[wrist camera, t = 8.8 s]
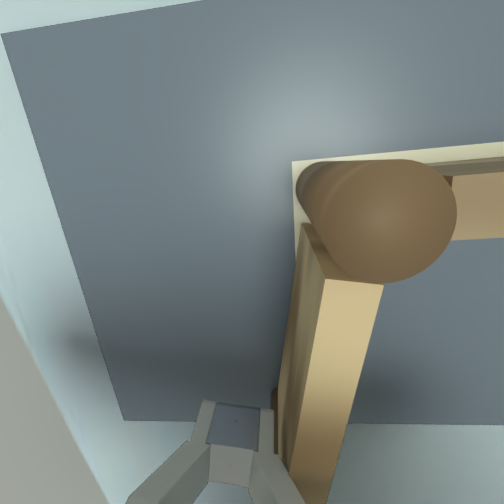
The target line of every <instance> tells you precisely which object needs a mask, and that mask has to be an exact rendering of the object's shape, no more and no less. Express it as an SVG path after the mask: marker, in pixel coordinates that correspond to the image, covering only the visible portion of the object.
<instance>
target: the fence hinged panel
mask: <svg viewBox="0 0 504 504" xmlns="http://www.w3.org/2000/svg"><path fill="white" fill-rule="evenodd" d="M383 287H384V284H383V283H371V282H366V281H362V280H359V279H357V278H354V277H352V276H350V275H349V274H347V273H346V272H344V271H343V270H342V269H341V268H340V267H339V266H338V265H337V264H336V263H335V262H334V260H333V259H332V257H331V256H330V254H329V252H328V250H327V249H326V247H325V245H324V244H323V242H322V240H321V239H320V237H319V235H318V233H317V232H316V230H315V228H314V227H313V225H312V224H310V223H301V229H300V236H299V243H298V251H297V258H296V265H295V272H294V279H293V286H292V293H291V300H290V307H289V314H288V321H287V328H286V335H285V342H284V349H283V356H282V363H281V370H280V378H279V385H278V387H276V388H275V389H274V390H273V391H272V393H271V402H270V409H272V410H273V411H274V454H277V455H279V457H280V459H281V461H282V462H283V464H284V466H285V468H286V470H287V471H288V473H289V477H291V479H292V480H293V482H294V484H295V486H296V488H297V489H298V491H299V493H300V495H301V497H302V498H303V500H304V502H305V504H326V502H327V498H328V494H329V490H330V487H331V483H332V479H333V475H334V472H335V468H336V464H337V460H338V457H339V453H340V449H341V445H342V442H343V438H344V434H345V430H346V426H347V423H348V419H349V415H350V411H351V408H352V404H353V400H354V396H355V393H356V389H357V385H358V381H359V378H360V374H361V370H362V366H363V363H364V359H365V355H366V351H367V347H368V344H369V340H370V336H371V332H372V329H373V325H374V321H375V317H376V314H377V310H378V306H379V302H380V299H381V295H382V291H383Z"/></svg>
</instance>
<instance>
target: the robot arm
mask: <svg viewBox="0 0 504 504" xmlns="http://www.w3.org/2000/svg"><path fill="white" fill-rule="evenodd" d="M208 481H212V482H220V483H228V484H233V485H238V486H244V487H248V490H249V493H250V495H251V498H252V501H253V504H305V502H304V500H303V498H302V497H301V495H300V493H299V491H298V489H297V488H296V486H295V484H294V482H293V480H292V479H291V477H289V473H288V471H287V470H286V468H285V466H284V464H283V462H282V461H281V459H280V457H279V455H277V454H274V411H273V410H272V409H265V408H259V407H252V406H244V405H236V404H235V405H234V404H229V403H223V402H216V401H210V400H203V402H202V404H201V408H200V411H199V414H198V418H197V421H196V424H195V428H194V431H193V434H192V438H191V441H186V442H185V443H184V444H183V445H182V446H181V447H180V448H178V449H177V450H176V451H175V452H174V453H173V454H172V455H171V456H170V457H169V458H168V459H167V460H166V461H165V462H164V463H163V464H162V465H161V466H160V467H159V468H158V469H157V470H156V471H155V472H154V473H153V474H152V475H151V476H149V477H148V478H147V479H146V480H145V481H144V482H143V483H142V484H141V485H140V486H139V487H138V488H137V489H136V490H135V491H134V492H133V493H132V494H131V495H130V496H129V497H128V499H127V501H126V504H193V503H194V501H195V500H196V498H197V497H198V496H199V494H200V493H201V492H202V490H203V489H204V488H205V486H206V485H207V483H208Z"/></svg>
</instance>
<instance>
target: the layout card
mask: <svg viewBox="0 0 504 504" xmlns="http://www.w3.org/2000/svg"><path fill="white" fill-rule="evenodd" d="M1 37H2V40H3V43H4V46H5V49H6V53H7V56H8V59H9V62H10V65H11V68H12V71H13V75H14V78H15V81H16V84H17V87H18V90H19V93H20V97H21V100H22V103H23V106H24V109H25V112H26V115H27V118H28V122H29V125H30V128H31V131H32V134H33V137H34V140H35V144H36V147H37V150H38V153H39V156H40V159H41V162H42V165H43V169H44V172H45V175H46V178H47V181H48V184H49V187H50V191H51V194H52V197H53V200H54V203H55V206H56V209H57V212H58V216H59V219H60V222H61V225H62V228H63V231H64V234H65V238H66V241H67V244H68V247H69V250H70V253H71V256H72V259H73V263H74V266H75V269H76V272H77V275H78V278H79V281H80V285H81V288H82V291H83V294H84V297H85V300H86V303H87V306H88V310H89V313H90V316H91V319H92V322H93V325H94V328H95V332H96V335H97V338H98V341H99V344H100V347H101V350H102V353H103V357H104V360H105V363H106V366H107V369H108V372H109V375H110V379H111V382H112V385H113V388H114V391H115V394H116V397H117V400H118V404H119V407H120V410H121V413H122V416H123V419H124V420H128V421H197V418H198V414H199V411H200V408H201V404H202V402H203V400H210V401H216V402H223V403H229V404H234V405H235V404H236V405H244V406H252V407H259V408H265V409H270V402H271V393H272V391H273V390H274V389H275V388H276V387H278V385H279V378H280V370H281V363H282V356H283V349H284V342H285V335H286V328H287V321H288V314H289V307H290V300H291V293H292V286H293V279H294V272H295V265H296V258H297V251H298V243H299V236H300V229H301V223H310V224H312V223H311V222H310V220H309V218H308V216H307V215H306V213H305V211H304V210H303V208H302V206H301V205H300V203H299V201H298V199H297V196H296V191H295V189H296V182H297V179H298V177H299V175H300V174H301V172H302V171H303V170H304V169H305V168H306V167H307V166H309V165H311V164H313V163H316V162H321V161H353V160H387V159H407V160H413V161H417V162H421V163H423V164H424V163H435V162H447V161H458V160H469V159H481V158H492V157H503V156H504V0H202V1H196V2H190V3H184V4H178V5H172V6H166V7H159V8H153V9H147V10H141V11H135V12H129V13H123V14H117V15H111V16H105V17H99V18H93V19H87V20H81V21H75V22H69V23H63V24H57V25H51V26H45V27H39V28H33V29H27V30H21V31H14V32H8V33H2V34H1ZM383 284H384V287H383V291H382V295H381V299H380V302H379V306H378V310H377V314H376V317H375V321H374V325H373V329H372V332H371V336H370V340H369V344H368V347H367V351H366V355H365V359H364V363H363V366H362V370H361V374H360V378H359V381H358V385H357V389H356V393H355V396H354V400H353V404H352V408H351V411H350V415H349V419H348V423H370V424H450V425H504V238H487V239H469V240H452V241H450V242H449V244H448V246H447V247H446V249H445V250H444V252H443V253H442V254H441V255H440V257H439V258H438V259H437V260H436V261H435V262H434V263H433V264H431V265H430V266H429V267H428V268H426V269H425V270H424V271H422V272H420V273H418V274H417V275H415V276H412V277H410V278H408V279H405V280H402V281H398V282H393V283H383Z"/></svg>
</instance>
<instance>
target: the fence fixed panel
mask: <svg viewBox="0 0 504 504" xmlns="http://www.w3.org/2000/svg"><path fill="white" fill-rule="evenodd" d="M295 191H296V196H297V199H298V201H299V203H300V205H301V206H302V208H303V210H304V211H305V213H306V215H307V216H308V218H309V220H310V222H311V223H312V225H313V227H314V228H315V230H316V232H317V233H318V235H319V237H320V239H321V240H322V242H323V244H324V245H325V247H326V249H327V250H328V252H329V254H330V256H331V257H332V259H333V260H334V262H335V263H336V264H337V265H338V266H339V267H340V268H341V269H342V270H343V271H344V272H346V273H347V274H349V275H350V276H352V277H354V278H357V279H359V280H362V281H366V282H371V283H393V282H398V281H402V280H405V279H408V278H410V277H412V276H415V275H417V274H418V273H420V272H422V271H424V270H425V269H426V268H428V267H429V266H430V265H431V264H433V263H434V262H435V261H436V260H437V259H438V258H439V257H440V255H441V254H442V253H443V252H444V250H445V249H446V247H447V246H448V244H449V242H450V241H452V240H469V239H487V238H504V156H503V157H492V158H481V159H469V160H458V161H447V162H435V163H424V164H423V163H421V162H417V161H413V160H407V159H387V160H353V161H321V162H316V163H313V164H311V165H309V166H307V167H306V168H305V169H304V170H303V171H302V172H301V174H300V175H299V177H298V179H297V182H296V189H295Z"/></svg>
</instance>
